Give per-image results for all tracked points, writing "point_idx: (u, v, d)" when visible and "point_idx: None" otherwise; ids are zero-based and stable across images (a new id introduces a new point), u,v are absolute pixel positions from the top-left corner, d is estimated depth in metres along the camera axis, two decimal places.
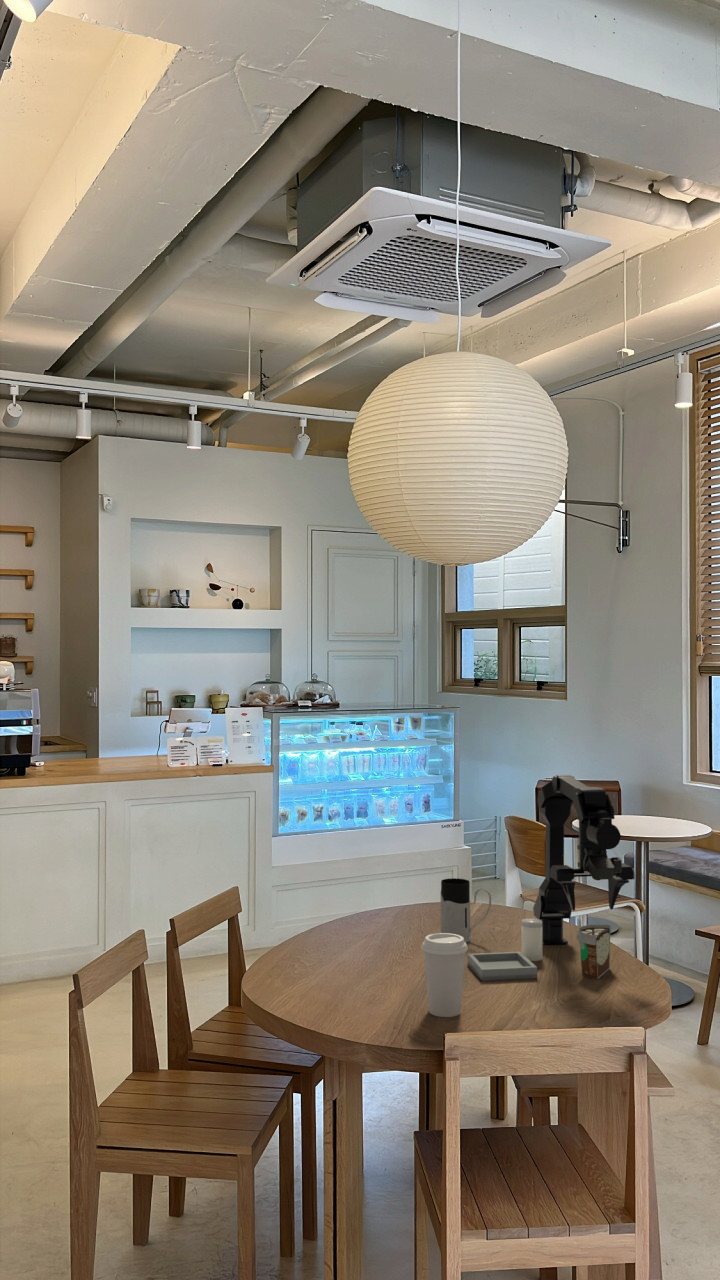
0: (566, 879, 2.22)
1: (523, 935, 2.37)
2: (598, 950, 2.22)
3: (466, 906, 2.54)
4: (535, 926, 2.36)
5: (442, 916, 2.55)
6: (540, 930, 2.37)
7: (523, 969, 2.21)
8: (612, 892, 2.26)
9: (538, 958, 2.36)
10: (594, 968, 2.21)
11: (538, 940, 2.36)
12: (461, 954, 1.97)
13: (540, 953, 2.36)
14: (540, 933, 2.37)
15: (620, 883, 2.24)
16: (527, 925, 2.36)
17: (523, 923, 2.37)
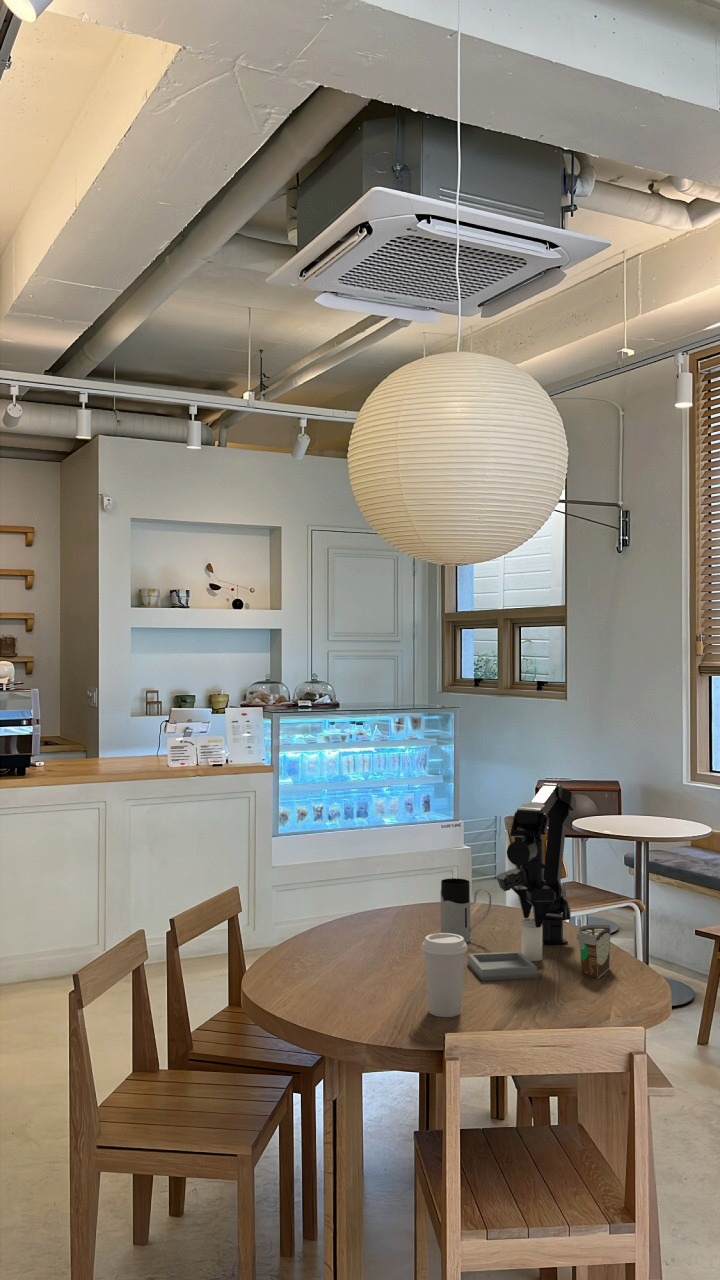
0: None
1: (523, 935, 2.37)
2: (598, 950, 2.22)
3: (466, 906, 2.54)
4: (535, 926, 2.36)
5: (442, 916, 2.55)
6: (540, 930, 2.37)
7: (523, 969, 2.21)
8: None
9: (538, 958, 2.36)
10: (594, 968, 2.21)
11: (538, 940, 2.36)
12: (461, 954, 1.97)
13: (540, 953, 2.36)
14: (540, 933, 2.37)
15: (528, 902, 2.33)
16: (527, 925, 2.36)
17: (523, 923, 2.37)
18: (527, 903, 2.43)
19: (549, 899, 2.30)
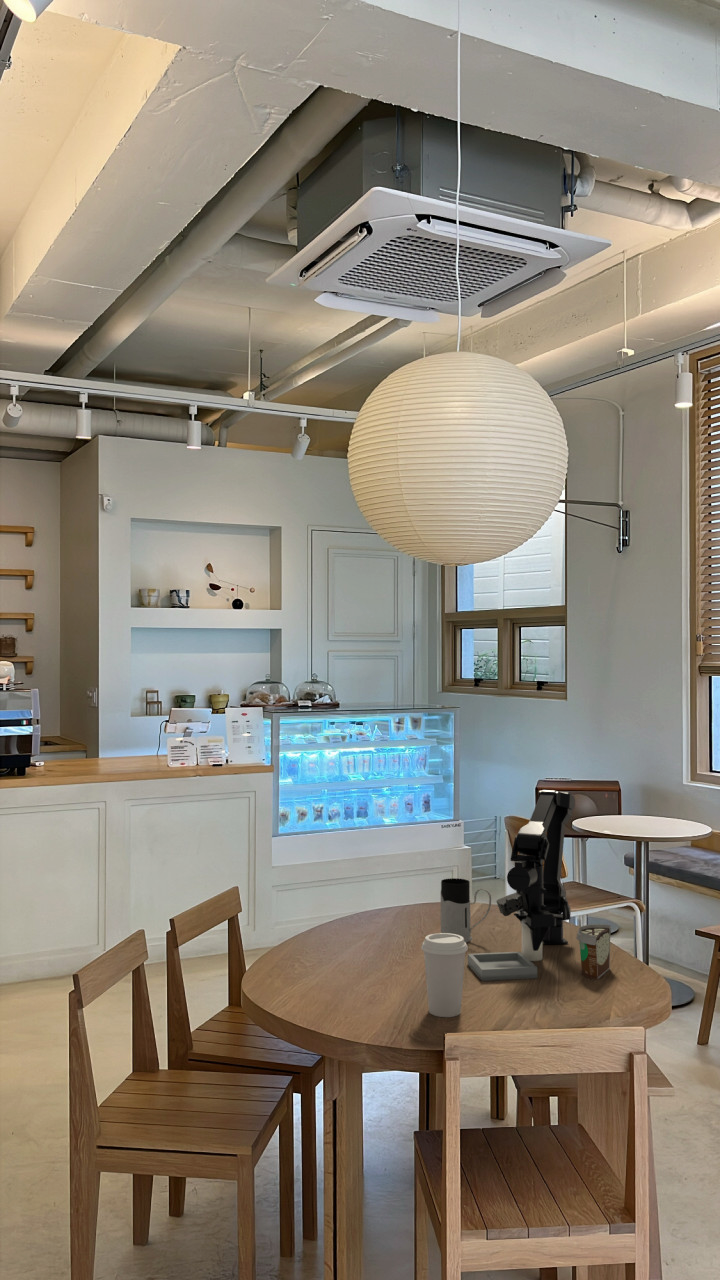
0: None
1: (523, 935, 2.37)
2: (598, 950, 2.22)
3: (466, 906, 2.54)
4: None
5: (442, 916, 2.55)
6: None
7: (523, 969, 2.21)
8: None
9: (538, 958, 2.36)
10: (594, 968, 2.21)
11: None
12: (461, 954, 1.97)
13: (540, 953, 2.36)
14: None
15: (526, 925, 2.34)
16: None
17: (523, 923, 2.37)
18: None
19: (549, 925, 2.29)
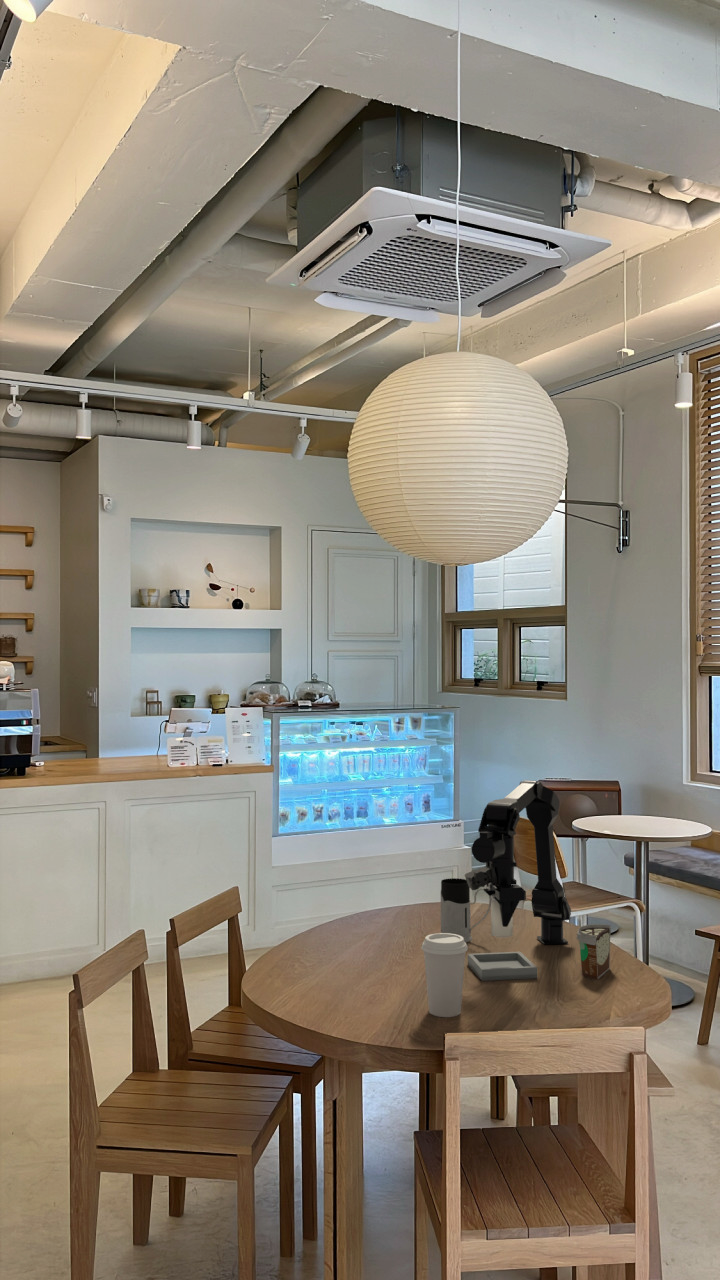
0: None
1: (492, 910, 2.26)
2: (598, 950, 2.22)
3: (466, 906, 2.54)
4: None
5: (442, 916, 2.55)
6: None
7: (523, 969, 2.21)
8: None
9: (508, 934, 2.25)
10: (594, 968, 2.21)
11: None
12: (461, 954, 1.97)
13: (510, 929, 2.25)
14: None
15: None
16: None
17: (492, 898, 2.26)
18: None
19: (519, 899, 2.18)
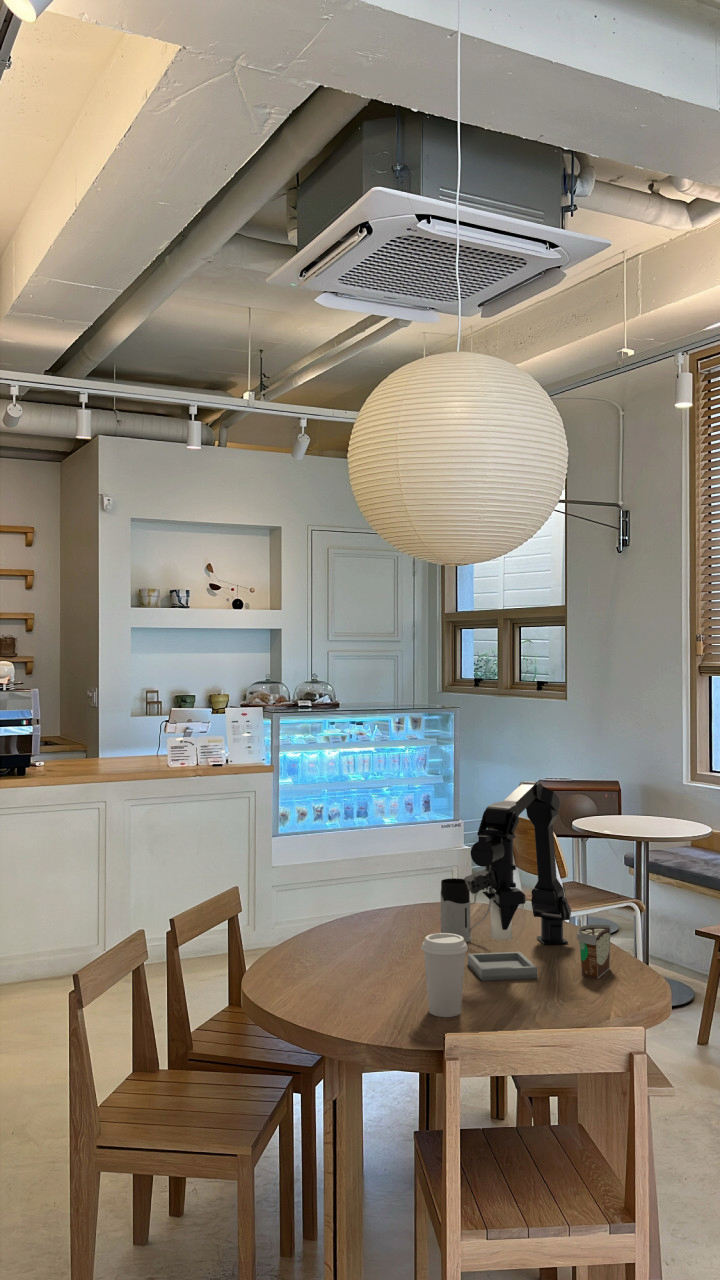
0: None
1: (492, 913, 2.27)
2: (598, 950, 2.22)
3: (466, 906, 2.54)
4: None
5: (442, 916, 2.55)
6: None
7: (523, 969, 2.21)
8: None
9: (507, 937, 2.25)
10: (594, 968, 2.21)
11: None
12: (461, 954, 1.97)
13: (509, 932, 2.26)
14: None
15: (495, 903, 2.24)
16: None
17: (492, 901, 2.27)
18: None
19: (518, 902, 2.19)
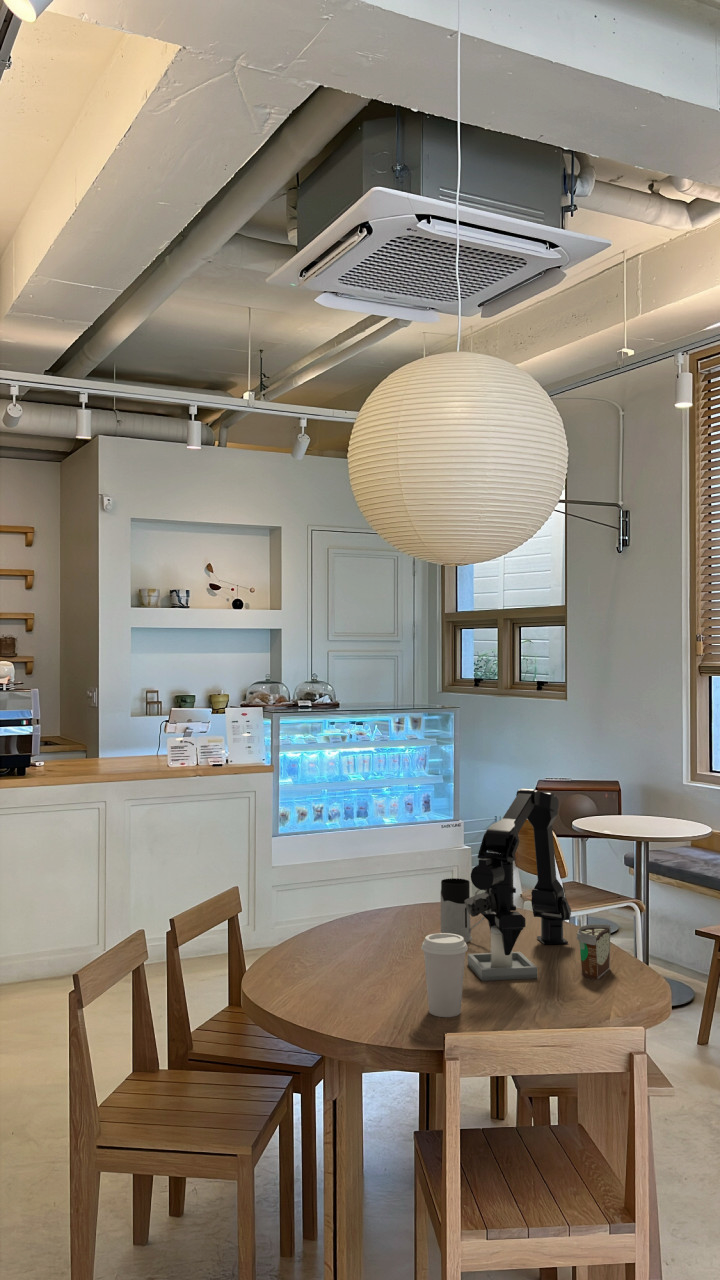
0: None
1: (492, 943, 2.26)
2: (598, 950, 2.22)
3: None
4: None
5: (442, 916, 2.55)
6: None
7: (523, 969, 2.21)
8: None
9: None
10: (594, 968, 2.21)
11: None
12: (461, 954, 1.97)
13: (510, 962, 2.26)
14: None
15: (497, 928, 2.22)
16: (496, 932, 2.26)
17: (492, 930, 2.27)
18: None
19: (518, 926, 2.19)
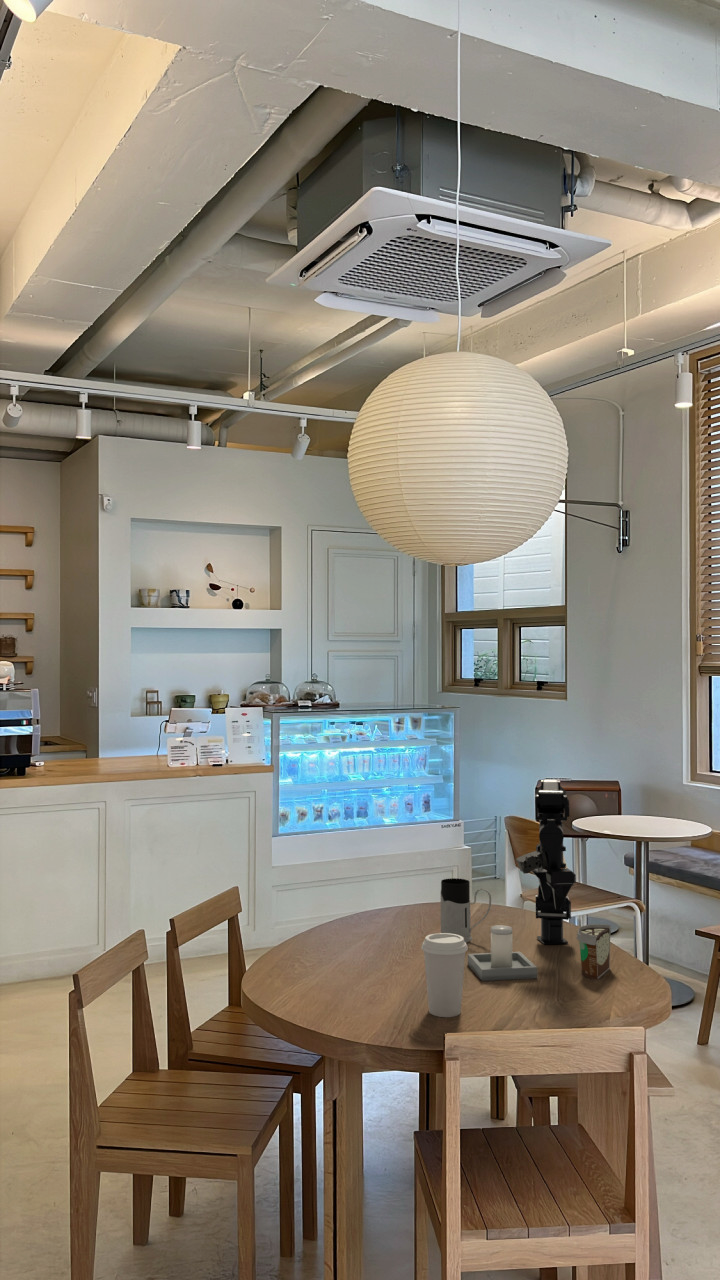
0: None
1: (492, 943, 2.26)
2: (598, 950, 2.22)
3: (466, 906, 2.54)
4: (504, 934, 2.25)
5: (442, 916, 2.55)
6: (510, 938, 2.26)
7: (523, 969, 2.21)
8: None
9: None
10: (594, 968, 2.21)
11: (508, 948, 2.25)
12: (461, 954, 1.97)
13: (510, 962, 2.26)
14: (510, 941, 2.26)
15: (548, 884, 2.33)
16: (496, 932, 2.26)
17: (492, 930, 2.27)
18: (547, 886, 2.44)
19: (569, 882, 2.30)
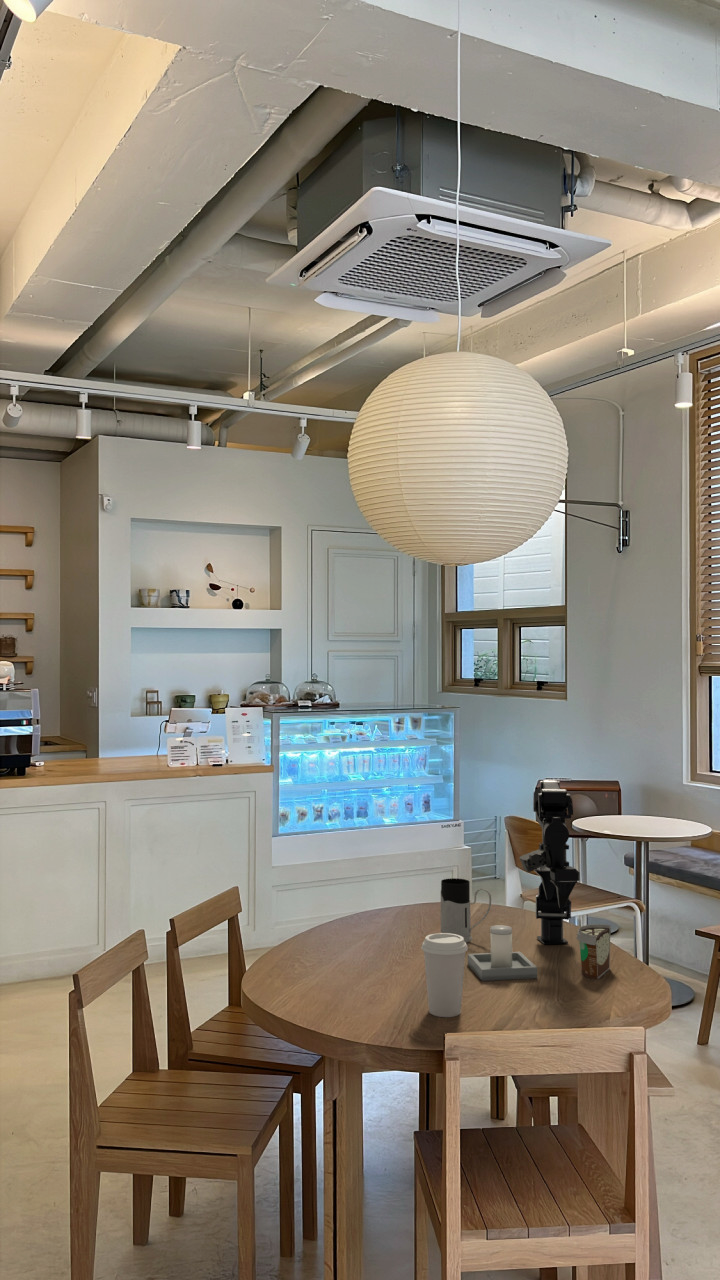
0: None
1: (492, 943, 2.26)
2: (598, 950, 2.22)
3: (466, 906, 2.54)
4: (504, 934, 2.25)
5: (442, 916, 2.55)
6: (510, 938, 2.26)
7: (523, 969, 2.21)
8: None
9: None
10: (594, 968, 2.21)
11: (508, 948, 2.25)
12: (461, 954, 1.97)
13: (510, 961, 2.26)
14: (510, 941, 2.26)
15: (552, 882, 2.34)
16: (496, 932, 2.26)
17: (492, 930, 2.26)
18: (550, 885, 2.44)
19: (573, 879, 2.31)
